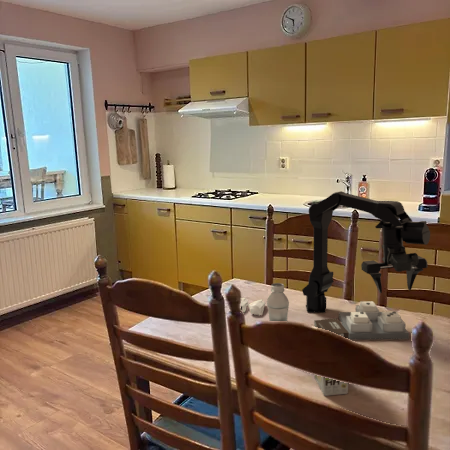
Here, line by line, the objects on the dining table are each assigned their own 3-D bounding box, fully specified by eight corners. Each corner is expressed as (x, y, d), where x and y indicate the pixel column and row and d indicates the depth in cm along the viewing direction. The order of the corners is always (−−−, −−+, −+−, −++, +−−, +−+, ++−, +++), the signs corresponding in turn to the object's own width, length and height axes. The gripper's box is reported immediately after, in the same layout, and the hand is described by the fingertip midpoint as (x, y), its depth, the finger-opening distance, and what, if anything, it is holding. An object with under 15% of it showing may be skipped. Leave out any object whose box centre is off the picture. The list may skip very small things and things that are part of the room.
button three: (386, 326, 135) (386, 316, 135) (382, 320, 140) (382, 311, 139) (400, 326, 135) (401, 316, 134) (396, 320, 139) (396, 310, 139)
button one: (362, 314, 145) (363, 305, 144) (359, 309, 149) (359, 301, 148) (376, 314, 144) (376, 305, 144) (372, 309, 149) (373, 300, 148)
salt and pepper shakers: (259, 318, 154) (273, 308, 163) (259, 307, 153) (272, 297, 163) (230, 312, 160) (245, 303, 170) (230, 301, 160) (245, 292, 169)
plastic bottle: (284, 355, 126) (283, 290, 123) (263, 350, 130) (262, 286, 126) (293, 346, 132) (292, 283, 128) (273, 341, 135) (272, 280, 132)
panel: (349, 339, 135) (349, 326, 134) (338, 317, 151) (338, 305, 150) (408, 339, 133) (409, 325, 132) (391, 317, 150) (392, 304, 149)
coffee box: (349, 394, 106) (350, 333, 103) (323, 396, 106) (324, 335, 103) (336, 374, 115) (337, 317, 112) (313, 376, 115) (313, 319, 112)
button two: (353, 326, 136) (353, 316, 136) (350, 320, 140) (350, 311, 140) (367, 326, 136) (368, 316, 135) (364, 320, 140) (364, 311, 140)
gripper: (372, 250, 126) (375, 302, 128) (436, 244, 126) (437, 295, 128) (359, 243, 137) (362, 291, 139) (417, 237, 137) (419, 285, 139)
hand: (395, 291), depth 136 cm, fingers open, 9 cm apart
